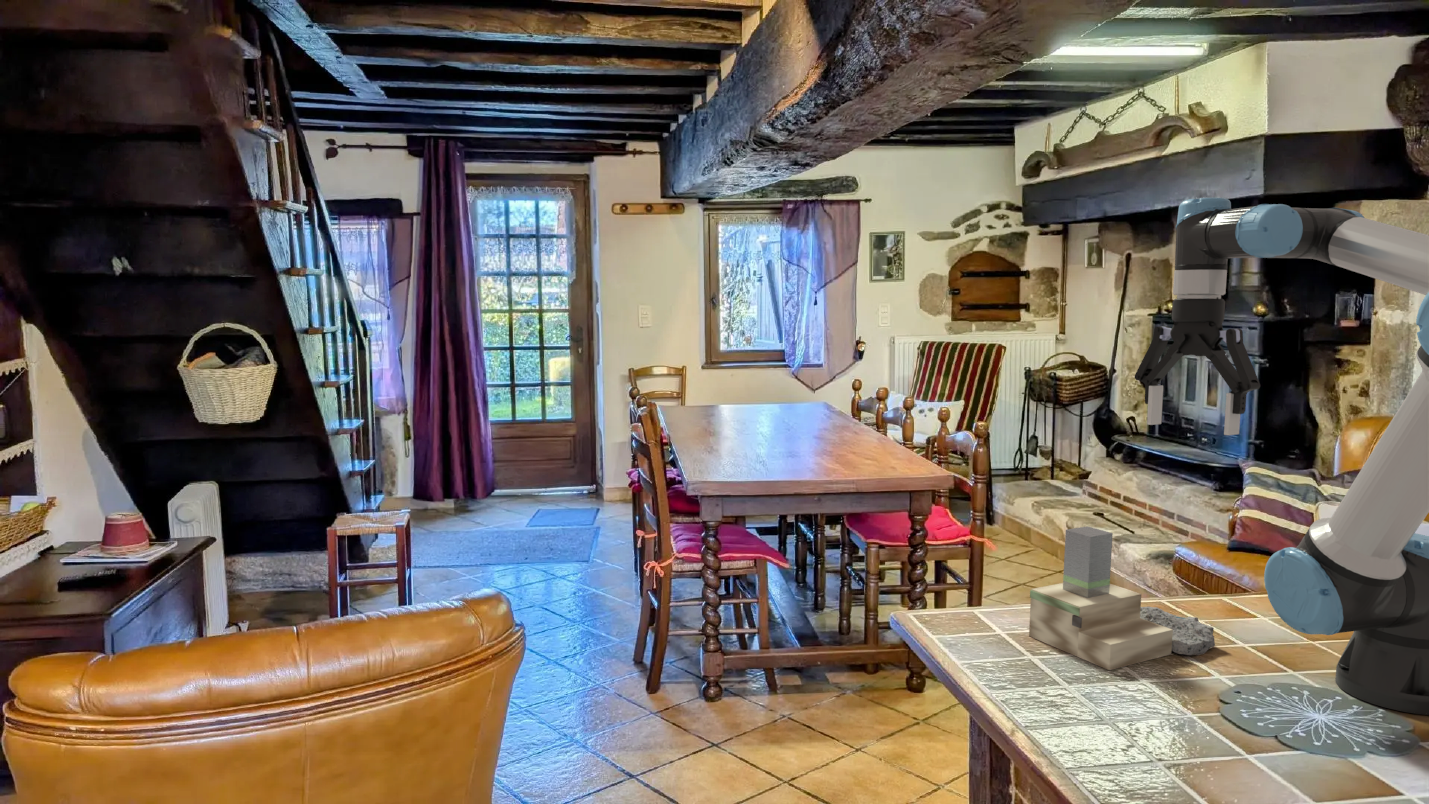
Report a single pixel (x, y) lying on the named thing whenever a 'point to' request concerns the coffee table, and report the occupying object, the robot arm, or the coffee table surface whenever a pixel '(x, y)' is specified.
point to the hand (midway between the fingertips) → (1191, 429)
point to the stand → (1097, 626)
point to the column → (1087, 561)
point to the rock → (1182, 631)
